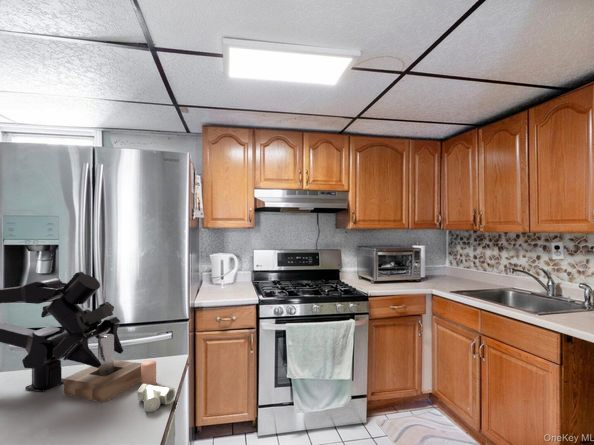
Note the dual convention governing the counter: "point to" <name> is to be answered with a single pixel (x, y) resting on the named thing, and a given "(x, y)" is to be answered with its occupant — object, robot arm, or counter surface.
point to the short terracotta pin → (148, 372)
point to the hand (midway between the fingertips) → (111, 359)
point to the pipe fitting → (155, 396)
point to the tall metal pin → (106, 354)
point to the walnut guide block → (102, 381)
